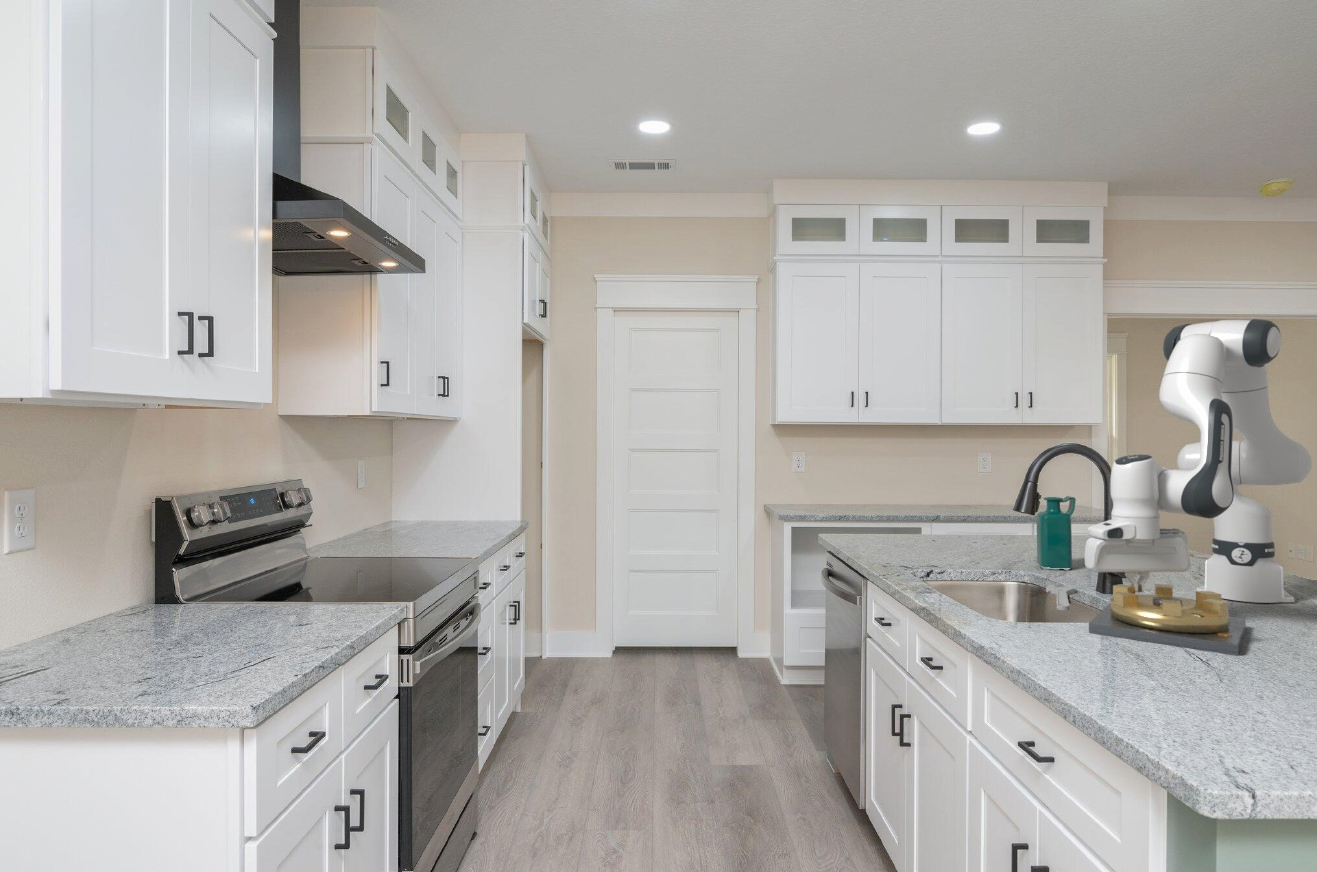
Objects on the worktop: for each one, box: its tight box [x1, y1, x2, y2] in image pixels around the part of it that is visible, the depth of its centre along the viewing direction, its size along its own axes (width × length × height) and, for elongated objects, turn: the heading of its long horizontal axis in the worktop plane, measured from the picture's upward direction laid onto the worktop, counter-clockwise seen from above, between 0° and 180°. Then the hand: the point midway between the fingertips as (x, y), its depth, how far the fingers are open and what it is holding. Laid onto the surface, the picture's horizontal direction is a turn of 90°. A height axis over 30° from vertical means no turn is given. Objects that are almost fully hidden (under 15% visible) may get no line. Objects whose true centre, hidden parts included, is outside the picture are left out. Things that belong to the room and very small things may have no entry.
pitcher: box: [1035, 495, 1077, 569], centre depth 216 cm, size 10×8×22 cm
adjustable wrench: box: [1045, 584, 1076, 611], centre depth 177 cm, size 25×6×2 cm, turn 147°
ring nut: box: [1110, 583, 1230, 633], centre depth 147 cm, size 20×20×6 cm
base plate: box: [1088, 602, 1247, 656], centre depth 147 cm, size 24×24×2 cm
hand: (1137, 591), depth 154 cm, fingers closed
